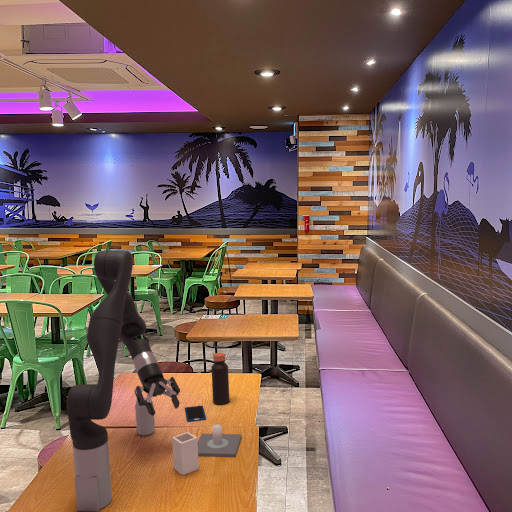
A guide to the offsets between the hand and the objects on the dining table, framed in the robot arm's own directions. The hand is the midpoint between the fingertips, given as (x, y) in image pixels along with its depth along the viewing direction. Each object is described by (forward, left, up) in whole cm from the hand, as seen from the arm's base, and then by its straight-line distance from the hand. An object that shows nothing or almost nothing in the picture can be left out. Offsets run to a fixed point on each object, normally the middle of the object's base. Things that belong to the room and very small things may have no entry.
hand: (165, 411), depth 167 cm
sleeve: (-8, -8, -15) cm, 19 cm away
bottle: (+45, -9, -15) cm, 48 cm away
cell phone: (+33, -1, -16) cm, 36 cm away
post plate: (+7, -15, -15) cm, 22 cm away
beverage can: (+16, +13, -15) cm, 26 cm away
